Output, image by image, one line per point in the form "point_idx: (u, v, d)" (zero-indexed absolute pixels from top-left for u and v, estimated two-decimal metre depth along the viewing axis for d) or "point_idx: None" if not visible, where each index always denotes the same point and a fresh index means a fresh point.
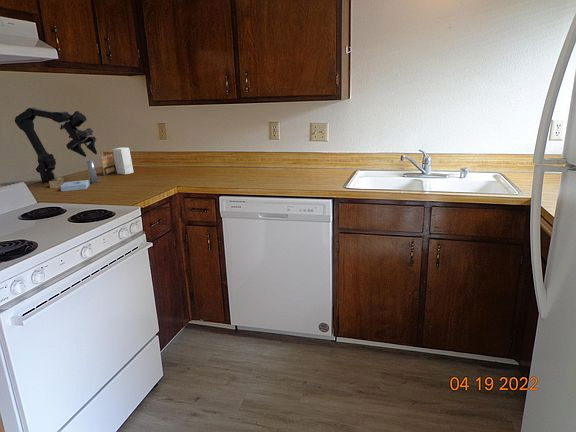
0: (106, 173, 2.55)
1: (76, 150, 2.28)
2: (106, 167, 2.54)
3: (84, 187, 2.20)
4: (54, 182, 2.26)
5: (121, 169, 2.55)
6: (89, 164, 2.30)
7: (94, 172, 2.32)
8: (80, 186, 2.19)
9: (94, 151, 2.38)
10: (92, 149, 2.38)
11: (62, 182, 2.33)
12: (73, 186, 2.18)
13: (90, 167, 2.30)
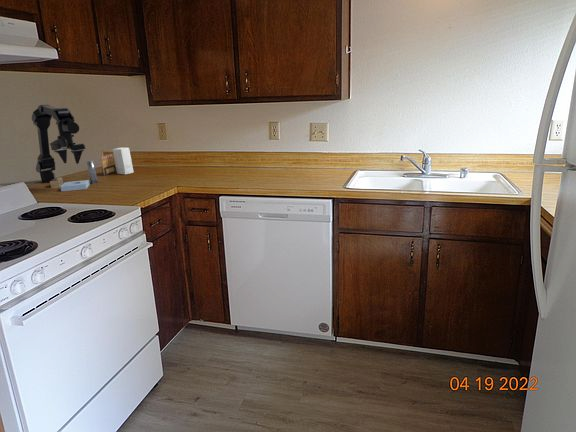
0: (106, 173, 2.55)
1: None
2: (106, 167, 2.54)
3: (84, 187, 2.20)
4: (55, 182, 2.26)
5: (121, 169, 2.55)
6: (89, 164, 2.30)
7: (94, 172, 2.32)
8: (80, 186, 2.19)
9: None
10: None
11: (62, 182, 2.33)
12: (73, 186, 2.18)
13: (90, 167, 2.30)
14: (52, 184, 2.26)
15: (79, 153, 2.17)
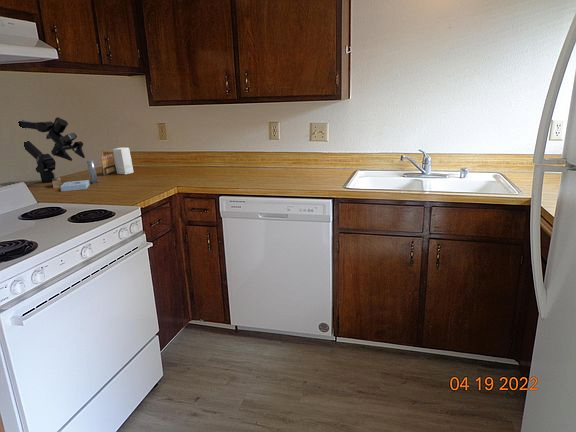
0: (106, 173, 2.55)
1: (62, 155, 2.28)
2: (106, 167, 2.54)
3: (84, 187, 2.20)
4: (58, 182, 2.27)
5: (121, 169, 2.55)
6: (89, 164, 2.30)
7: (94, 172, 2.32)
8: (80, 186, 2.19)
9: (82, 155, 2.37)
10: (80, 153, 2.37)
11: None
12: (73, 186, 2.18)
13: (90, 167, 2.30)
14: (54, 184, 2.26)
15: None
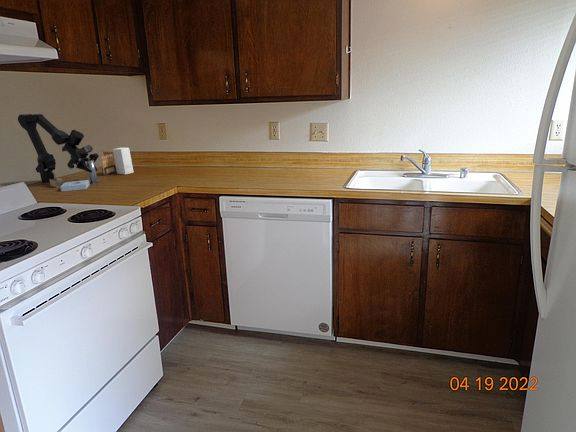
0: (106, 173, 2.55)
1: (81, 167, 2.30)
2: (106, 167, 2.54)
3: (84, 187, 2.20)
4: (61, 181, 2.28)
5: (121, 169, 2.55)
6: (89, 164, 2.30)
7: (94, 172, 2.32)
8: (80, 186, 2.19)
9: None
10: None
11: None
12: (73, 186, 2.18)
13: (90, 167, 2.30)
14: (57, 184, 2.27)
15: None
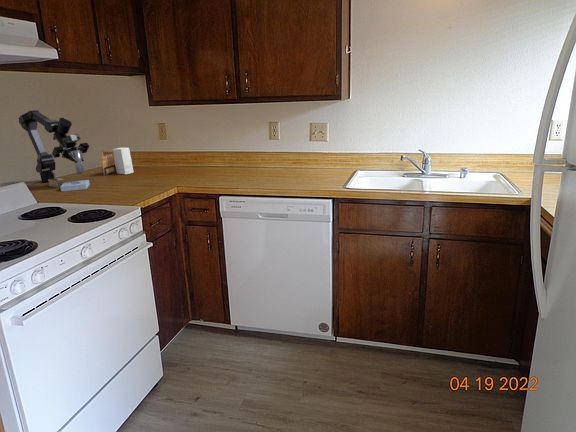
0: (106, 173, 2.55)
1: (67, 157, 2.22)
2: (106, 167, 2.54)
3: (84, 187, 2.20)
4: (62, 181, 2.29)
5: (121, 169, 2.55)
6: (74, 154, 2.21)
7: (80, 162, 2.23)
8: (80, 186, 2.19)
9: None
10: None
11: None
12: (73, 186, 2.18)
13: (75, 157, 2.21)
14: (59, 183, 2.27)
15: None
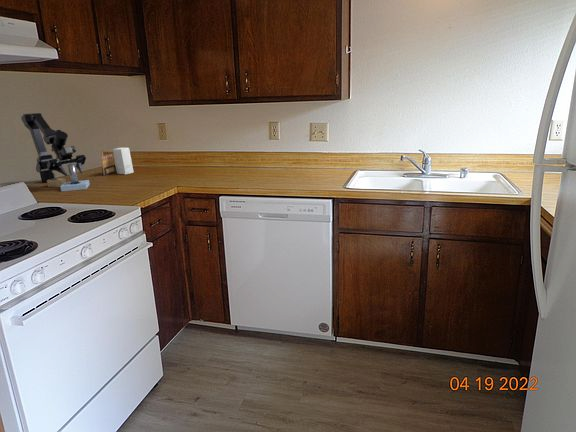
0: (106, 173, 2.55)
1: (58, 170, 2.19)
2: (106, 167, 2.54)
3: (84, 187, 2.20)
4: (63, 180, 2.30)
5: (121, 169, 2.55)
6: (69, 168, 2.20)
7: (74, 177, 2.21)
8: (80, 186, 2.19)
9: (80, 170, 2.24)
10: (78, 168, 2.25)
11: None
12: (73, 186, 2.18)
13: (69, 171, 2.20)
14: (61, 183, 2.28)
15: None
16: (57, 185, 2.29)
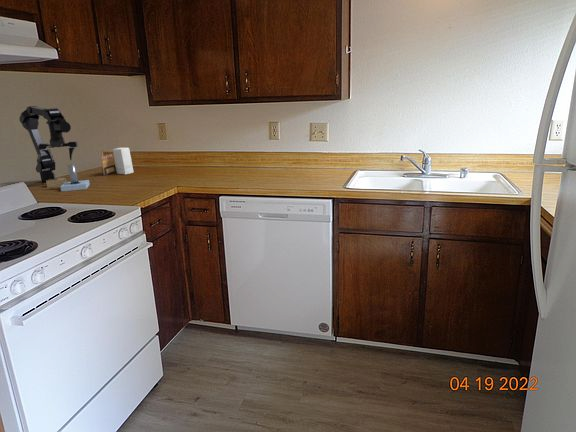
0: (106, 173, 2.55)
1: None
2: (106, 167, 2.54)
3: (84, 187, 2.20)
4: (65, 180, 2.32)
5: (121, 169, 2.55)
6: (69, 168, 2.20)
7: (74, 177, 2.21)
8: (80, 186, 2.19)
9: (70, 157, 2.32)
10: None
11: None
12: (73, 186, 2.18)
13: (69, 171, 2.20)
14: (64, 182, 2.30)
15: None
16: (60, 185, 2.29)
